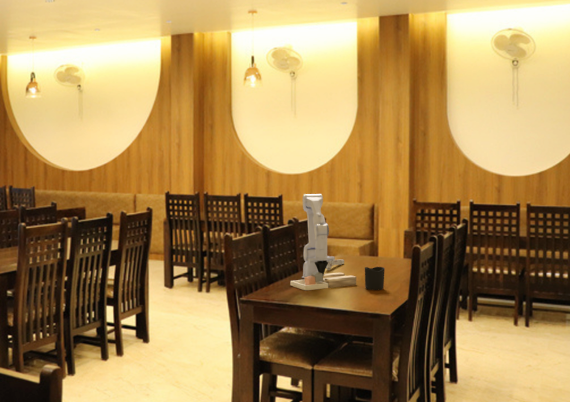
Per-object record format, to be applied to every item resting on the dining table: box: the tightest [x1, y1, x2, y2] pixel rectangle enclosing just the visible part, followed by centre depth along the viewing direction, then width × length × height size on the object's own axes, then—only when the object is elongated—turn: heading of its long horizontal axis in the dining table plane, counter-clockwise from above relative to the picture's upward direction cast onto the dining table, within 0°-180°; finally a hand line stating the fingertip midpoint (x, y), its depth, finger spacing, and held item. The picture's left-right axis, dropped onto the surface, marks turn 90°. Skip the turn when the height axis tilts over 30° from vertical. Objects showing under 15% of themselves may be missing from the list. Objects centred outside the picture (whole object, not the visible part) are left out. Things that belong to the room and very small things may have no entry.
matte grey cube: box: [311, 272, 323, 282], centre depth 313 cm, size 4×4×4 cm
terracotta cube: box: [303, 276, 316, 285], centre depth 312 cm, size 4×4×4 cm
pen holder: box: [364, 266, 385, 291], centre depth 307 cm, size 9×9×10 cm
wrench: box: [325, 255, 345, 271], centre depth 370 cm, size 8×2×30 cm
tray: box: [290, 279, 328, 291], centre depth 312 cm, size 14×13×2 cm
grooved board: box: [322, 272, 357, 289], centre depth 319 cm, size 14×16×4 cm
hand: (321, 276), depth 315 cm, fingers closed
